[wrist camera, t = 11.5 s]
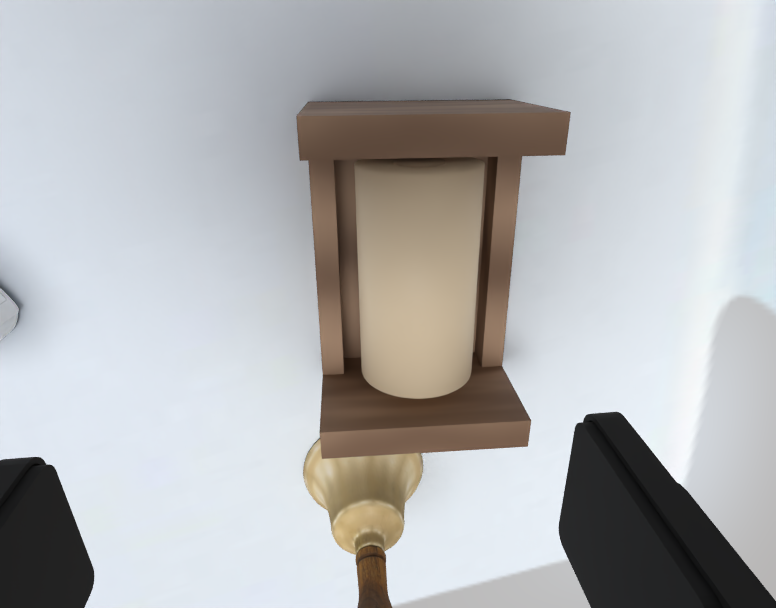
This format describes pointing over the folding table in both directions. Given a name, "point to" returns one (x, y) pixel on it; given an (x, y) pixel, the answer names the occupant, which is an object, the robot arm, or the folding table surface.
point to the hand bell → (365, 509)
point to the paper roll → (418, 271)
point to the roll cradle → (499, 208)
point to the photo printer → (7, 314)
